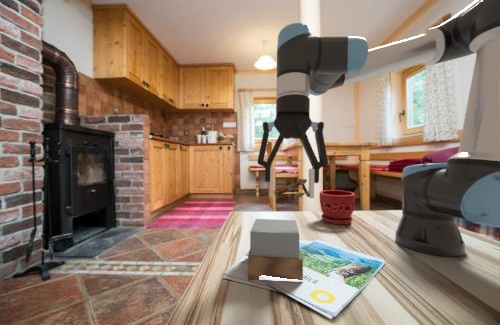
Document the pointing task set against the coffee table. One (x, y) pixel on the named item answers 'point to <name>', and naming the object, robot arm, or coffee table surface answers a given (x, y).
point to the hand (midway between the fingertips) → (291, 196)
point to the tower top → (274, 238)
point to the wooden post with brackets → (293, 186)
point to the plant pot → (337, 206)
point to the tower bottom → (275, 267)
